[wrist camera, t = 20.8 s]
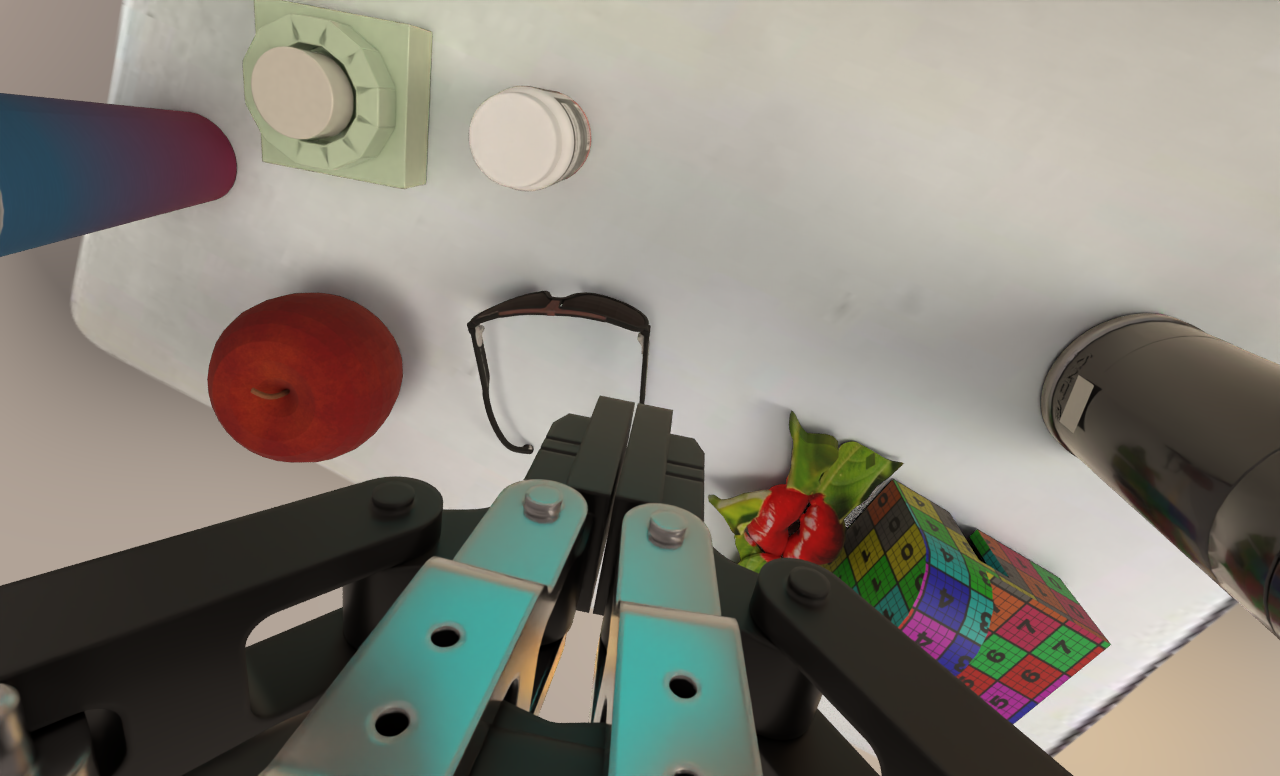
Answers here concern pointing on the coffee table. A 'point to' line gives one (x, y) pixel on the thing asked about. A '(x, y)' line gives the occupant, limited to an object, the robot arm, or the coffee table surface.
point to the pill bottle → (529, 137)
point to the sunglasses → (547, 305)
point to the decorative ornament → (805, 501)
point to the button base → (382, 88)
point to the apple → (304, 377)
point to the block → (967, 601)
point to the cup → (101, 167)
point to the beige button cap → (302, 93)
